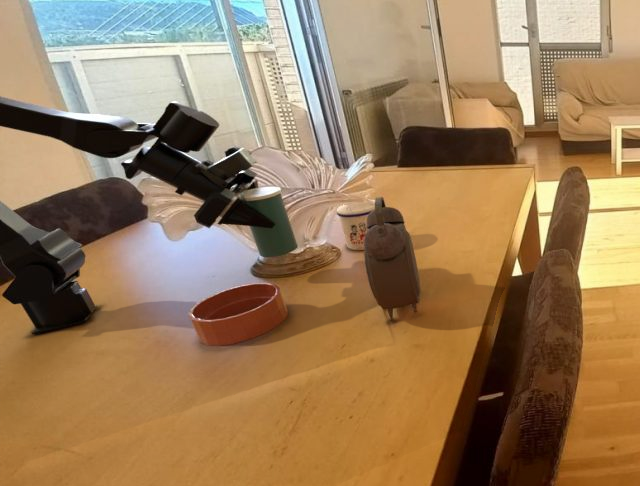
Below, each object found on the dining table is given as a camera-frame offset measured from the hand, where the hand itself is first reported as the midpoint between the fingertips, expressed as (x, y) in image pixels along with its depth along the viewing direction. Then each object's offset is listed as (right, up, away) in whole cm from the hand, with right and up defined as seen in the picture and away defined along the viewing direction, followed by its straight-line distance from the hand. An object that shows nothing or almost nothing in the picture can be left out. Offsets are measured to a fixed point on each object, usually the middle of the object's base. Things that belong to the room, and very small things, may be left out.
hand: (277, 220), depth 90 cm
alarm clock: (+27, -16, -7) cm, 32 cm away
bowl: (+3, -18, -11) cm, 21 cm away
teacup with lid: (+8, -5, +21) cm, 23 cm away
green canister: (-1, -6, +2) cm, 6 cm away
